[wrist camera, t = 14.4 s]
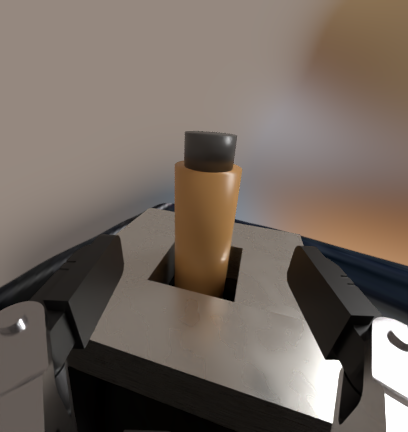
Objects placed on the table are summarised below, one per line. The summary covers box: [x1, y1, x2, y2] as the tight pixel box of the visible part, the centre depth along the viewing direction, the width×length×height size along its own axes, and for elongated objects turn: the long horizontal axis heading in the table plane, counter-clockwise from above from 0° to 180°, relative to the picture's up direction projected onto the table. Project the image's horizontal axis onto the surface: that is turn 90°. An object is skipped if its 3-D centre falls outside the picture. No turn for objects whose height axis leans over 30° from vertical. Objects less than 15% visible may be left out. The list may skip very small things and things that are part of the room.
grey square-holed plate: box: [66, 208, 342, 432], centre depth 18 cm, size 18×16×4 cm
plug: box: [175, 131, 242, 299], centre depth 16 cm, size 4×4×14 cm
